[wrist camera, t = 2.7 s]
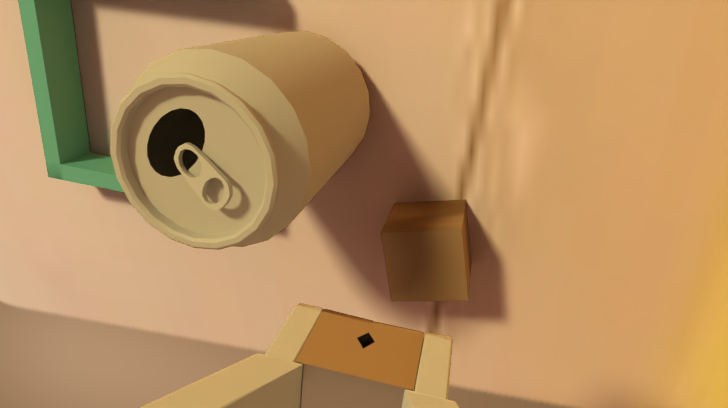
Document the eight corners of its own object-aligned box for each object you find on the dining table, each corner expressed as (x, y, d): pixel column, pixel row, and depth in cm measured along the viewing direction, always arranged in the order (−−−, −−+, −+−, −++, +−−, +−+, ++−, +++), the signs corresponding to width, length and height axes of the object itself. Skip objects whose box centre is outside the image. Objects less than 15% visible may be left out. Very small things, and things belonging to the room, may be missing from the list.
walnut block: (465, 198, 27) (461, 229, 24) (471, 262, 29) (468, 300, 25) (394, 203, 28) (380, 233, 25) (403, 264, 30) (391, 301, 26)
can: (298, -3, 25) (153, -3, 14) (402, 100, 26) (339, 174, 15) (220, 101, 28) (55, 166, 18) (315, 191, 29) (212, 304, 18)
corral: (267, -34, 25) (245, -37, 23) (263, 200, 30) (244, 217, 28) (47, -58, 27) (7, -62, 25) (79, 164, 32) (48, 176, 30)
